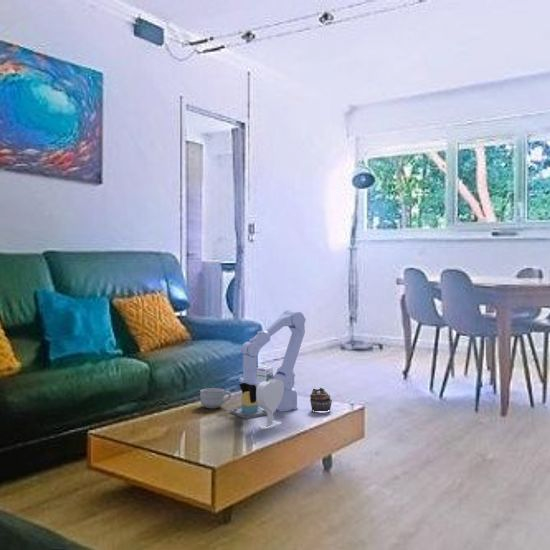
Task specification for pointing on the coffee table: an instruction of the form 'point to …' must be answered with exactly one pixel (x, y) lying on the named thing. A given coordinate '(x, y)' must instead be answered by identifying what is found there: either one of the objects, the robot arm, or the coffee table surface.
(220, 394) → the teacup
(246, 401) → the ochre brick
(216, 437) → the coffee table surface
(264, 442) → the coffee table surface
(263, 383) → the heart sculpture
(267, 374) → the syrup box
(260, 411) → the base plate
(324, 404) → the cupcake
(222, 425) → the coffee table surface
